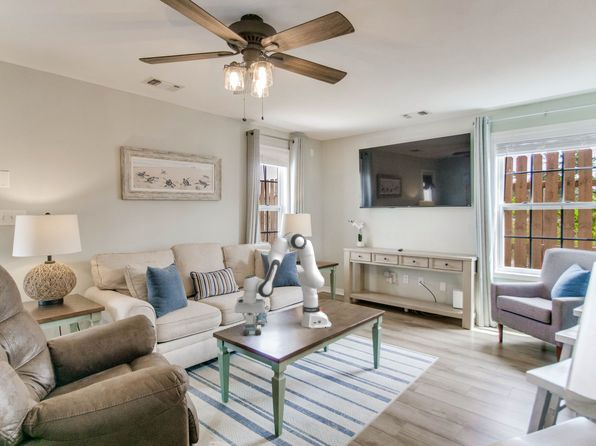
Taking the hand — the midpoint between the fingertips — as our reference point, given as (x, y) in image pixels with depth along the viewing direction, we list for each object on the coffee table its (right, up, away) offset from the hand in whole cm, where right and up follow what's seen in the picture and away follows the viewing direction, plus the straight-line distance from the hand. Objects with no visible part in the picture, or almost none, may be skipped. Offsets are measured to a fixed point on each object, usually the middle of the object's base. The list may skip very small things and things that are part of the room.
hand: (249, 319), depth 230 cm
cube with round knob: (0, -3, 0) cm, 3 cm away
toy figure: (+7, -10, +16) cm, 20 cm away
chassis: (+2, -10, 0) cm, 10 cm away
